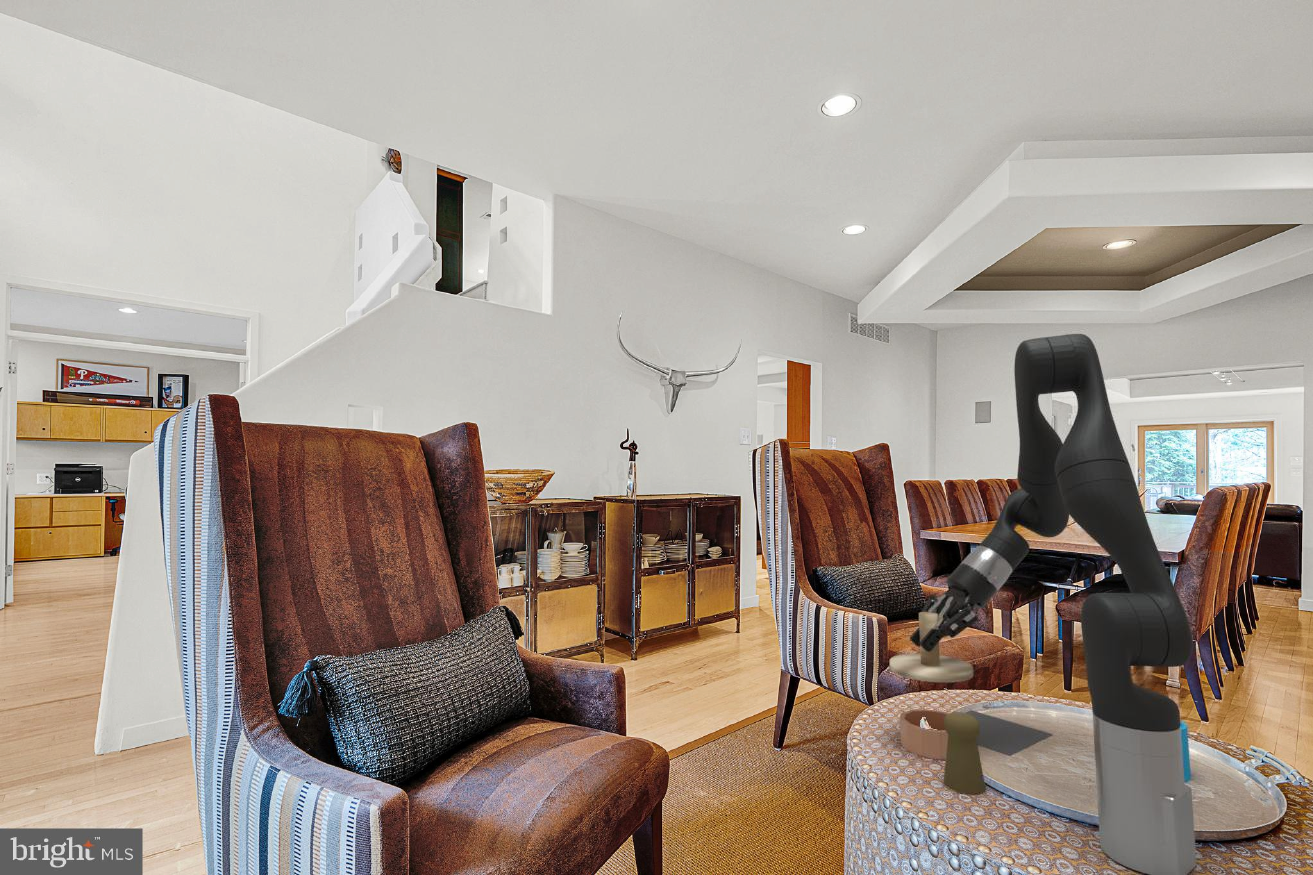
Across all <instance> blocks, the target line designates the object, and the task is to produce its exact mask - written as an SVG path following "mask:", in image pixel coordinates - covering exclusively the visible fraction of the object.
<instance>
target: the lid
mask: <svg viewBox="0 0 1313 875" xmlns="http://www.w3.org/2000/svg"><path fill="white" fill-rule="evenodd" d="M938 616H939V614H937V613H933V612H922V611H921V612H918V623H919V624H918V625H919V626H918V628H919V630H920V641H921V640H922V639H923V638H924V637H925V636H926V635H927V633H928V632H929V631H930V630H931V629H934V626H935V624H936V623H937V621H938ZM934 630H935V629H934ZM919 648H920V649H919V651H920V653H903V654H898V655H894V656H892V657H891V658H890V659H889V669H890V670H891V672H893V673H894V674H896V675H899V676H901V677H904V678H908V679H911V680H916V681H921V682H922V681H923V682H931V683H947V684H948V683H960V682H965V681H968V680H971V679H972V678H973V677H974V667H973V665H972V664H971V663H969V662H967V661H965V660H962V659H960V658H956V657H952V656H946V655H941V654H940V641H939V642H938V643H937V645H936V646H935V647H934V648H933V649H932V650H931V651H930V652H927V651H925V650H924V649H923V648H922V647H921V646H920V647H919Z"/></svg>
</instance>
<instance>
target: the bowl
mask: <svg viewBox="0 0 1313 875" xmlns="http://www.w3.org/2000/svg"><path fill="white" fill-rule="evenodd" d="M949 713H950V712H945V711H942V710H941V711H940V710H933V709H925V708H924V709H909V710H907V711H903V712H901V713H900V716H899V734H900V736H899V737H900V738H899V740H900V745H901V746H902V748H904V749H905V750H906V751H908V752H909V753H912V754H914V755H916V756H919V757H922V758H927V759H932V760H941V761H942V760H944V761H946V752H947V742H948V733H947V732H946V730H945V727H944V719H945V717H946V715H947V714H949ZM922 717H926V720H927V722H928V724H929V726H931V728H933V729H937V730H933V729H925V728H921V727H920V720H921V719H922Z"/></svg>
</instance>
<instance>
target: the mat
mask: <svg viewBox="0 0 1313 875" xmlns="http://www.w3.org/2000/svg"><path fill="white" fill-rule="evenodd" d="M964 713H967V714H970V715H972V716H973V717H975V718H976V719H977V721H978V722H979V725H980V732H979V736H978V737H977V738H976V739H977V744H978V747H982V748H985V749H988V750H991V751H994V752H997V753H999V754H1002V755H1005V756H1009V757H1010V756H1013V755H1015V754H1017V753H1018V752H1021V751H1023V750H1026V749H1027V748H1029V747H1031V746H1033V745H1035V744H1037V743H1039V742H1041V741H1044V740H1046V739H1048V738H1050V737H1052V736H1054V733H1050V732H1048V731H1044V730H1040V729H1038V728H1037V729H1036V728H1033V727H1030V726H1026V725H1023V724H1020V723H1016V722H1012V721H1009V720H1006V719H1002V718H998V717H996V716H992V715H989V714H986V713H983V712H979V711H976V710H972V709H971V710H968V711H966V712H964Z"/></svg>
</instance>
